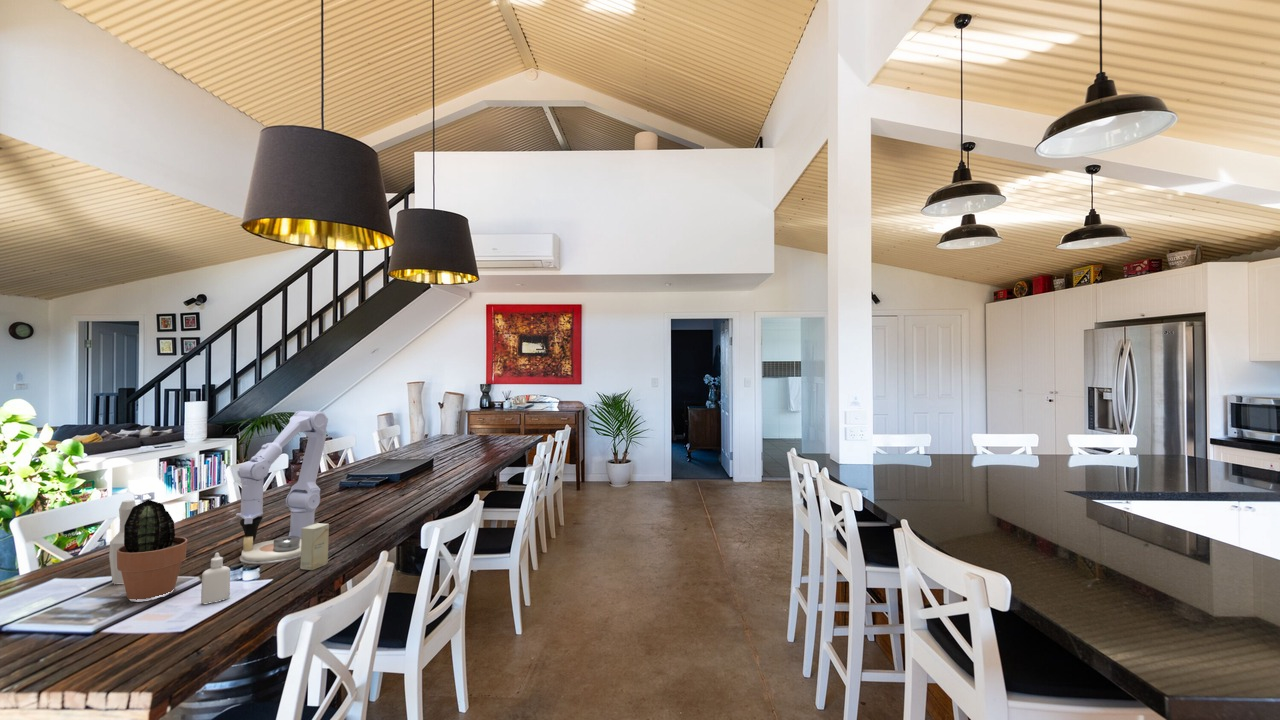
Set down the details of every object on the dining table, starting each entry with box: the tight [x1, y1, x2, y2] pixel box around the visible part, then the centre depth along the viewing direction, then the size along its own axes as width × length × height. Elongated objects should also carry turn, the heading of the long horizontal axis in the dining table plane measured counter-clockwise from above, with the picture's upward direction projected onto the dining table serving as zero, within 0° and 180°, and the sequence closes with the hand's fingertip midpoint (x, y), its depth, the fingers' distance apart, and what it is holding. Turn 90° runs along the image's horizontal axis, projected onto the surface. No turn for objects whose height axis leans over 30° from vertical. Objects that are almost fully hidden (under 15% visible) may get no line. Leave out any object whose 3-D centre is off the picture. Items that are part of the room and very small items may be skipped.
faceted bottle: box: [109, 499, 137, 585], centre depth 150 cm, size 6×6×22 cm
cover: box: [273, 535, 301, 552], centre depth 172 cm, size 7×7×3 cm
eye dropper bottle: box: [200, 552, 231, 604], centre depth 138 cm, size 4×6×12 cm
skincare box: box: [299, 522, 330, 571], centre depth 163 cm, size 6×4×12 cm
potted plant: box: [117, 499, 188, 600], centre depth 141 cm, size 14×14×25 cm
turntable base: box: [238, 554, 301, 565], centre depth 174 cm, size 19×19×1 cm
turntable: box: [241, 536, 301, 562], centre depth 174 cm, size 18×18×6 cm
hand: (250, 541), depth 175 cm, fingers closed
